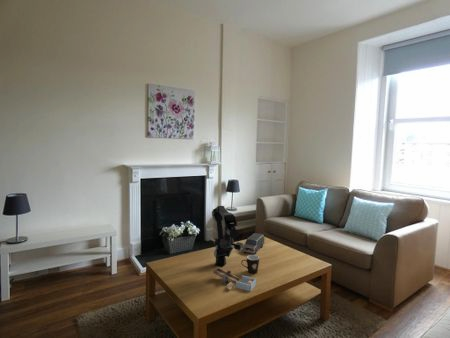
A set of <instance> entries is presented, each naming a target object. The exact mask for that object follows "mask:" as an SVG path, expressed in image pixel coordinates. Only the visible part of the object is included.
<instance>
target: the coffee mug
mask: <svg viewBox="0 0 450 338" xmlns="http://www.w3.org/2000/svg"><path fill="white" fill-rule="evenodd" d="M244 261H245V262H246V264H247V266H246V265H244V263H243V262H244ZM240 263H241V265H242V266H243V267H244V268H246V269H247V273H249V274H251V275H256V274H257V273H258V271H259V270H258V269H259V266H260V265H259V264H260V256H259V255H256V254H248V255H247V256H246V259H242V260H241V262H240Z"/></svg>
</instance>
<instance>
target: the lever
mask: <svg viewBox="0 0 450 338" xmlns="http://www.w3.org/2000/svg"><path fill="white" fill-rule="evenodd" d="M212 273H213V275H217V276H218V277H221V278H222V279H223V274H224V275H226V280H228V281H229V282H228V283H227V284H226V286H225V289H227V290H232V288H233V287H234V286H236V281H237V282H240V277H239V276H236V275H234V274H232V272H231V273H228V271H226V270H224V269H222V268H220V266H217V267H215V268H214V269H213V271H212Z"/></svg>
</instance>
